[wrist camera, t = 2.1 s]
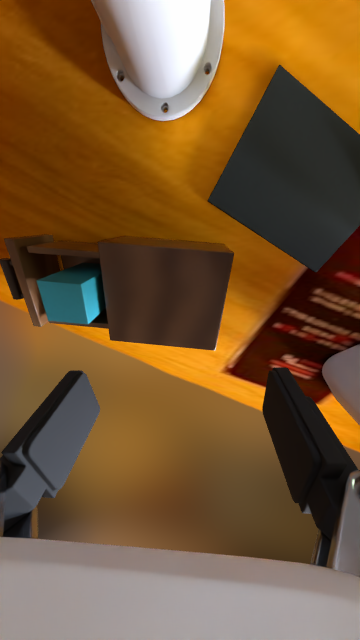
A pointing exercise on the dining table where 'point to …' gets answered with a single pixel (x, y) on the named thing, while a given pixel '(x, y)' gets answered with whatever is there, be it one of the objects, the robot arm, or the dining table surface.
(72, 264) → the drawer
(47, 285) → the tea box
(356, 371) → the plastic bottle
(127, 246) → the cabinet
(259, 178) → the mat
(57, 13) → the dining table surface
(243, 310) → the dining table surface
